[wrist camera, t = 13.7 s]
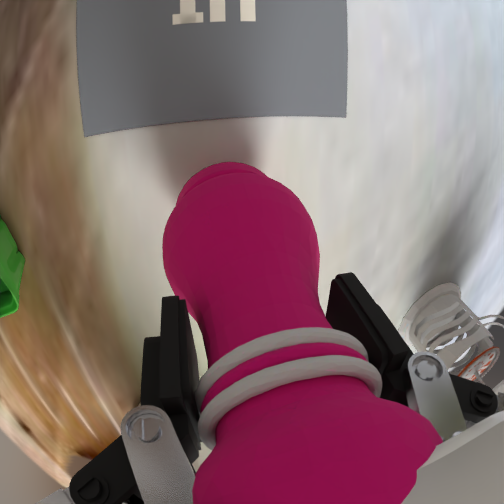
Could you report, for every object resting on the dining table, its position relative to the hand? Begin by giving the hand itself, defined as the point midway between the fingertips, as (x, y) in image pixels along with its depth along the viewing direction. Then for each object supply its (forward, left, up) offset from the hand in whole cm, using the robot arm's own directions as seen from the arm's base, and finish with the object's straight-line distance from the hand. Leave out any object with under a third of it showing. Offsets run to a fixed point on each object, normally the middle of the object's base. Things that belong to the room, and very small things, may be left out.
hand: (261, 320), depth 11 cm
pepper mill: (0, 0, -9) cm, 9 cm away
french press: (+2, -29, -12) cm, 31 cm away
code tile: (+11, +8, -12) cm, 18 cm away
